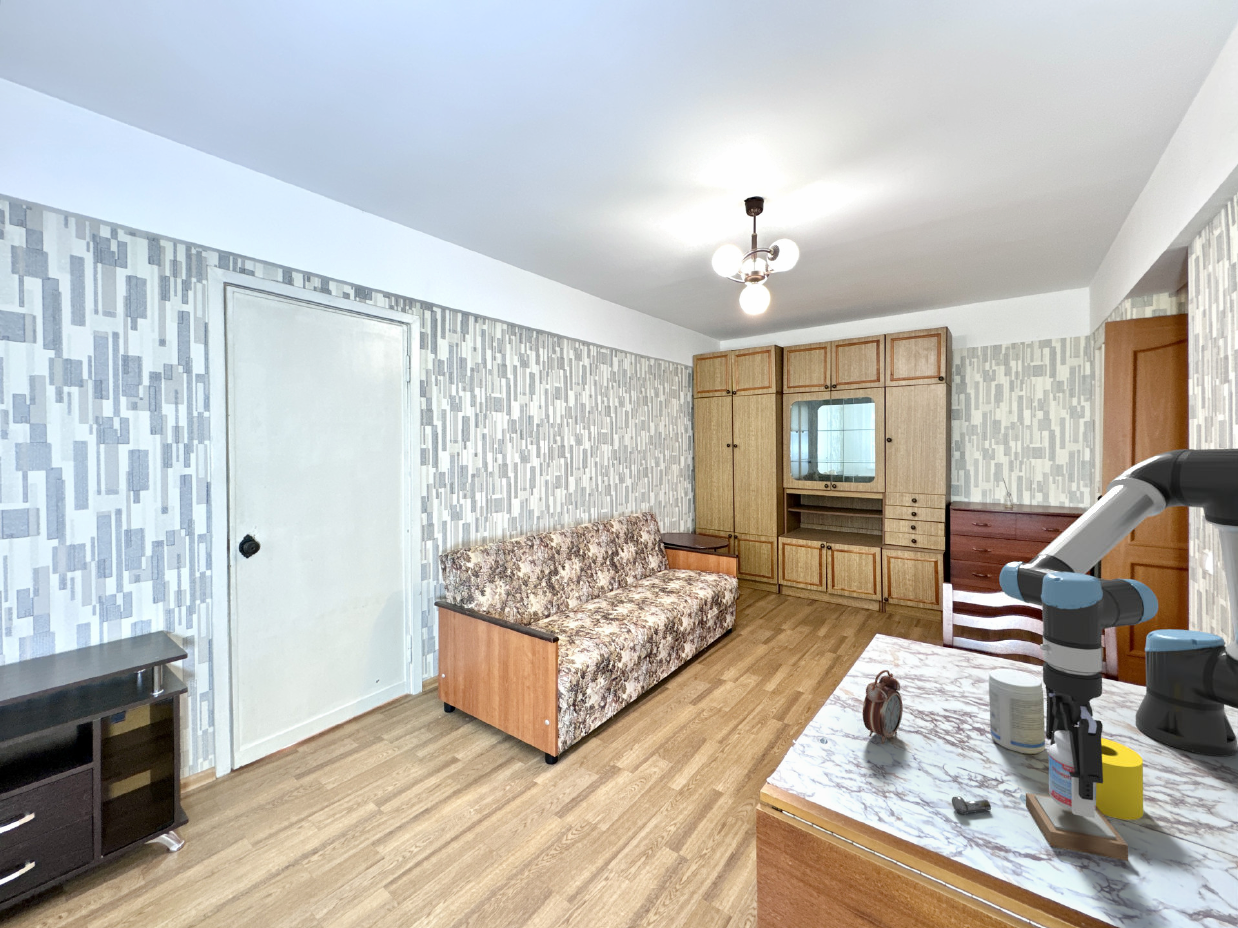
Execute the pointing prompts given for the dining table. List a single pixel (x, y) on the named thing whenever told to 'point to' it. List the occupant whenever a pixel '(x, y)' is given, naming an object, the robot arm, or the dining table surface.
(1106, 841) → the stand
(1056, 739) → the pill bottle
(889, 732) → the alarm clock
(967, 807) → the loose bolt
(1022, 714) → the supplement tub
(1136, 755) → the yellow toilet paper roll
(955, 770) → the dining table surface
